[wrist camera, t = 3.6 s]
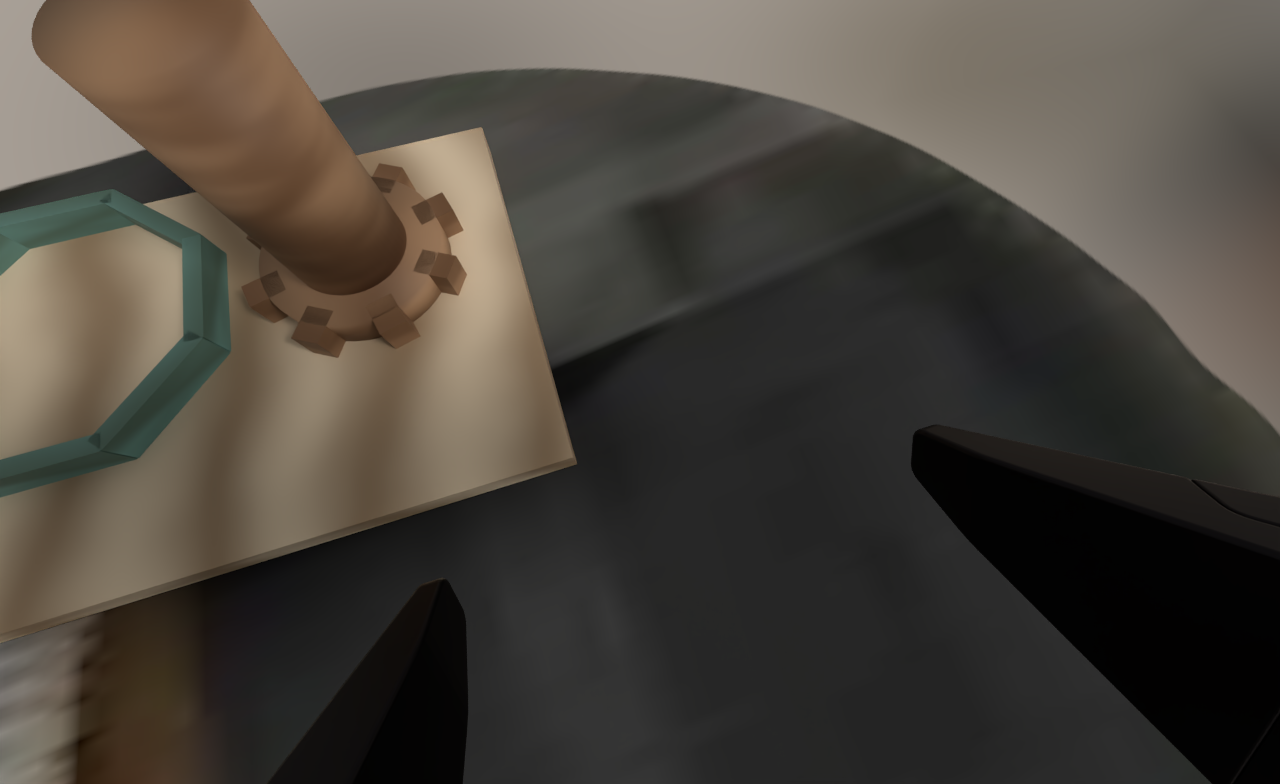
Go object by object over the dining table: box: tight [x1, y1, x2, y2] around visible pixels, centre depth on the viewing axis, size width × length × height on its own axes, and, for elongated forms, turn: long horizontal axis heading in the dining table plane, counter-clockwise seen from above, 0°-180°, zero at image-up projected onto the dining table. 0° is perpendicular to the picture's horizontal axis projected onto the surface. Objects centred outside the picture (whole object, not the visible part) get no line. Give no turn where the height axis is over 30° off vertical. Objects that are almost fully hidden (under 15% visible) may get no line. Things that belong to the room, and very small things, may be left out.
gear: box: [32, 0, 467, 358], centre depth 18 cm, size 10×10×12 cm
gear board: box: [0, 127, 577, 643], centre depth 22 cm, size 27×19×3 cm
